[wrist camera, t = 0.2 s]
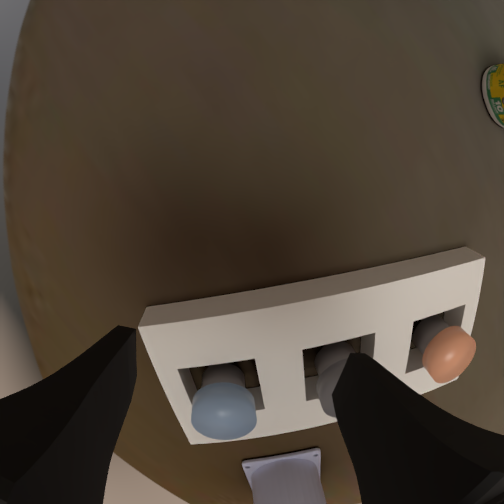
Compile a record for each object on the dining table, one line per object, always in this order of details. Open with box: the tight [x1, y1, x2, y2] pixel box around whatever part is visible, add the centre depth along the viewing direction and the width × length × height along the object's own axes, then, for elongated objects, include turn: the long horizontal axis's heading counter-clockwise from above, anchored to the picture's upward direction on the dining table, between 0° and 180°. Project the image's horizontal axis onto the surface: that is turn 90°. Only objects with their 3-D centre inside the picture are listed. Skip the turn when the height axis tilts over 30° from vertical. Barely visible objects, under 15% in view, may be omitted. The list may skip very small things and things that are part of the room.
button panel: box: [138, 246, 485, 444], centre depth 21 cm, size 12×24×2 cm, turn 99°
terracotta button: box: [412, 315, 476, 383], centre depth 19 cm, size 4×4×4 cm
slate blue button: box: [191, 363, 257, 440], centre depth 19 cm, size 4×4×4 cm
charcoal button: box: [314, 341, 356, 418], centre depth 19 cm, size 4×4×4 cm
